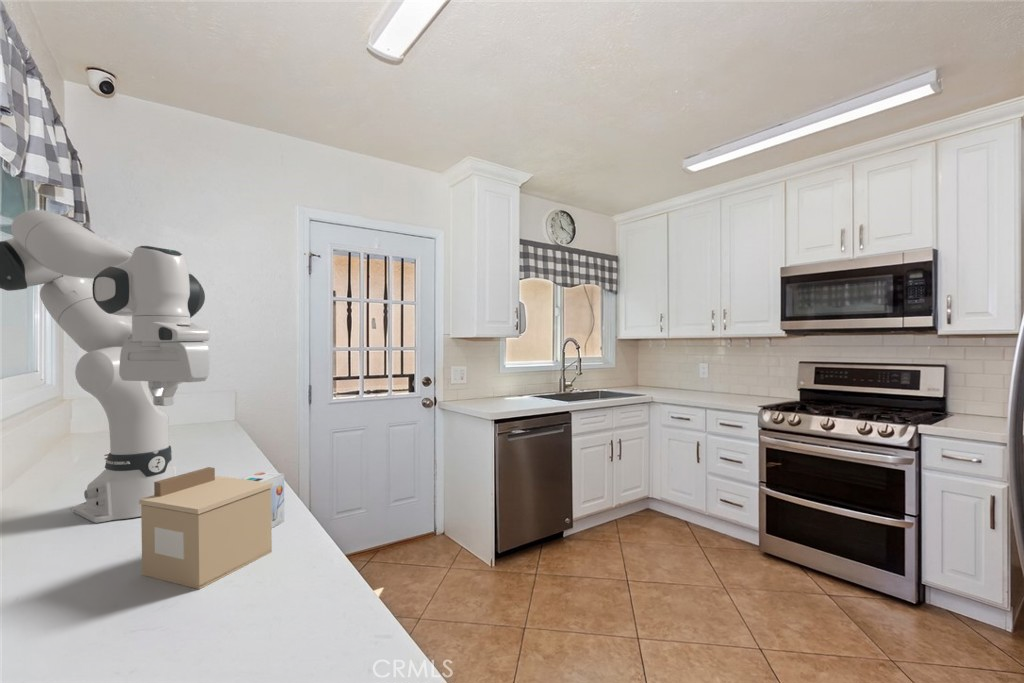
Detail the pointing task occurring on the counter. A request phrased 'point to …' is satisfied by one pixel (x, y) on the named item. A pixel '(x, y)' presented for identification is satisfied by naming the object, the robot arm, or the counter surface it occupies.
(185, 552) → the carton
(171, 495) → the carton lid
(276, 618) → the counter surface
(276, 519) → the light bulb box
